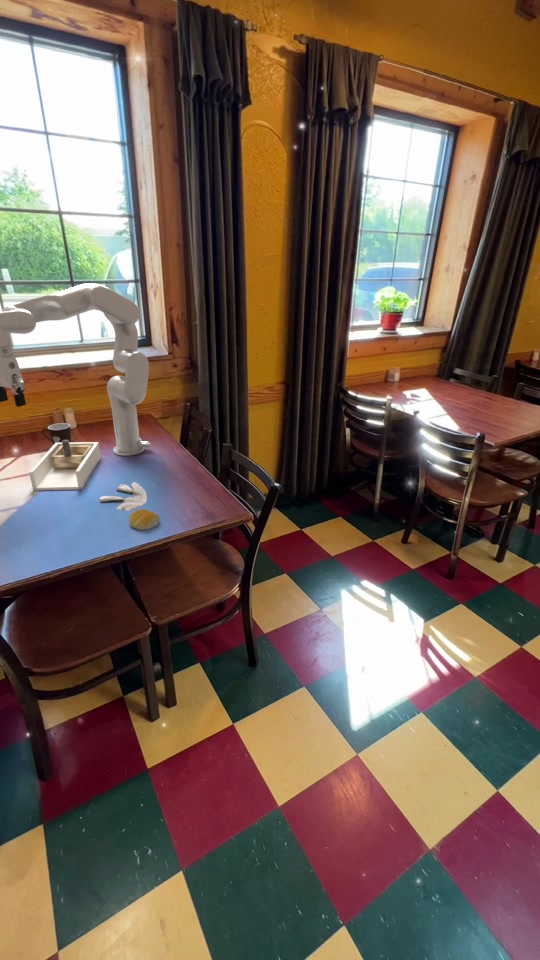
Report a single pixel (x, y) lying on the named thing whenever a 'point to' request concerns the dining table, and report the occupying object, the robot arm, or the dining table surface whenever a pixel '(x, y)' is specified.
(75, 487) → the bay
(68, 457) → the box
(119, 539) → the dining table surface
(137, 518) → the bread roll
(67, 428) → the coffee mug
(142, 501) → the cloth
